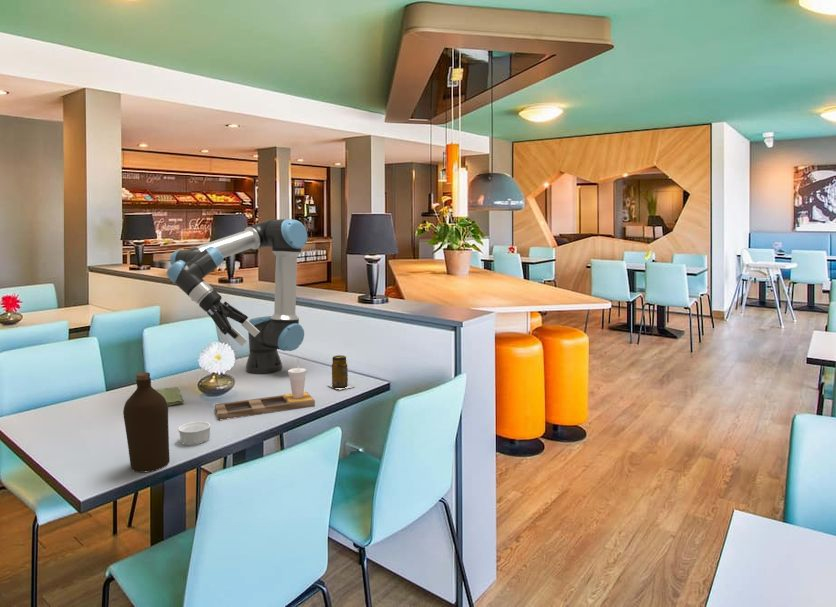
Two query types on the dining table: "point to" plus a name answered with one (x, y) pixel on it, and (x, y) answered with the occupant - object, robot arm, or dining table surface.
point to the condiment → (339, 372)
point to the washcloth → (171, 395)
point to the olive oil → (147, 427)
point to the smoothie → (297, 380)
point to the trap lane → (262, 405)
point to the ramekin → (194, 432)
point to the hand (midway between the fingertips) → (251, 338)
